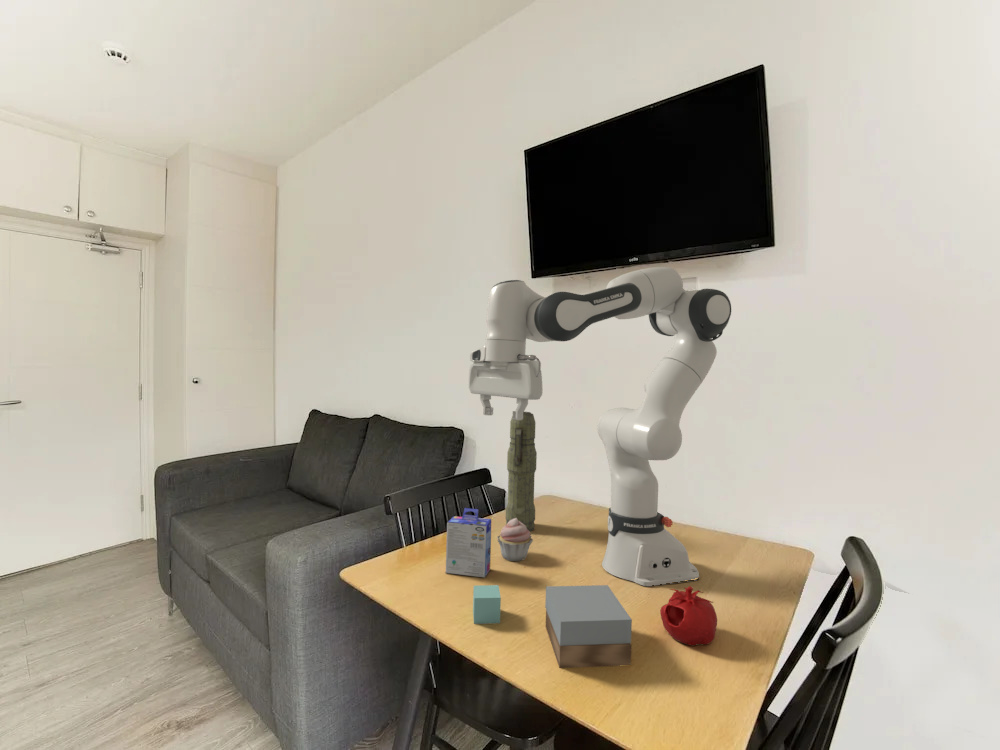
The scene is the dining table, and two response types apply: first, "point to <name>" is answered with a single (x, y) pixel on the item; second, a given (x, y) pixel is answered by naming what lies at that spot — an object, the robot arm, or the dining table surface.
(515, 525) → the cupcake
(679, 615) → the pomegranate
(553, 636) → the tower bottom slab
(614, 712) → the dining table surface
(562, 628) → the tower top slab
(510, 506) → the thermos
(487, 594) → the teal cube
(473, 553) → the ink cartridge box
